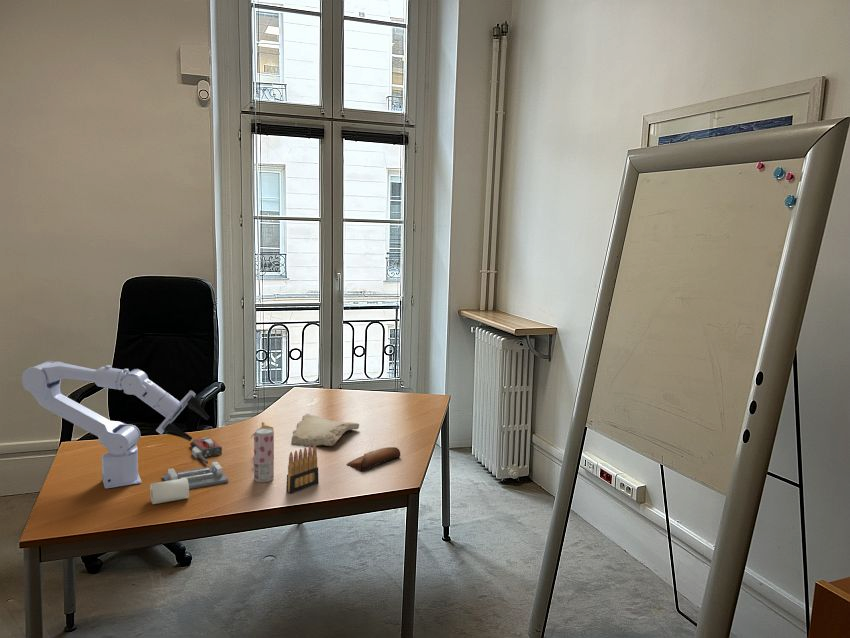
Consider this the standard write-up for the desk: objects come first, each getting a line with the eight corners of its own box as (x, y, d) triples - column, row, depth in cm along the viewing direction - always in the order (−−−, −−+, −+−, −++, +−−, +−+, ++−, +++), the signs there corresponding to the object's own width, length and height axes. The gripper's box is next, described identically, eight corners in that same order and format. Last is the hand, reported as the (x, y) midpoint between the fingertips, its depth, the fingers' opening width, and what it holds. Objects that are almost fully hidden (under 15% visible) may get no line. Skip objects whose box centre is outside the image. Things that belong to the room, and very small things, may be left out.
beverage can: (276, 475, 191) (276, 428, 189) (270, 483, 186) (270, 434, 184) (257, 474, 192) (257, 427, 190) (251, 482, 186) (251, 433, 184)
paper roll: (153, 507, 167) (153, 488, 166) (150, 499, 172) (149, 480, 171) (189, 501, 172) (189, 482, 171) (185, 493, 177) (185, 474, 176)
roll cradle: (170, 492, 177) (170, 480, 176) (162, 477, 187) (162, 466, 186) (228, 482, 185) (228, 471, 185) (217, 468, 195) (217, 457, 195)
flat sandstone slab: (282, 445, 221) (333, 448, 215) (280, 424, 220) (332, 427, 214) (314, 428, 244) (362, 430, 238) (313, 409, 243) (361, 411, 237)
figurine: (268, 451, 211) (268, 417, 210) (277, 456, 207) (278, 421, 206) (245, 457, 206) (245, 421, 204) (255, 462, 201) (255, 426, 200)
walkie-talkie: (183, 448, 212) (203, 467, 197) (183, 435, 212) (203, 454, 196) (210, 444, 218) (231, 462, 202) (209, 431, 217) (231, 449, 201)
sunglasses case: (382, 451, 216) (390, 437, 213) (395, 465, 213) (403, 452, 210) (343, 465, 202) (351, 450, 199) (357, 481, 199) (365, 466, 196)
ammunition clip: (290, 494, 179) (290, 453, 177) (286, 492, 180) (286, 451, 178) (318, 483, 187) (319, 444, 186) (314, 481, 188) (315, 442, 187)
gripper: (144, 417, 173) (185, 446, 175) (179, 377, 181) (218, 406, 183) (142, 423, 179) (181, 451, 181) (176, 384, 187) (214, 412, 189)
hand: (200, 429), depth 182 cm, fingers open, 7 cm apart
